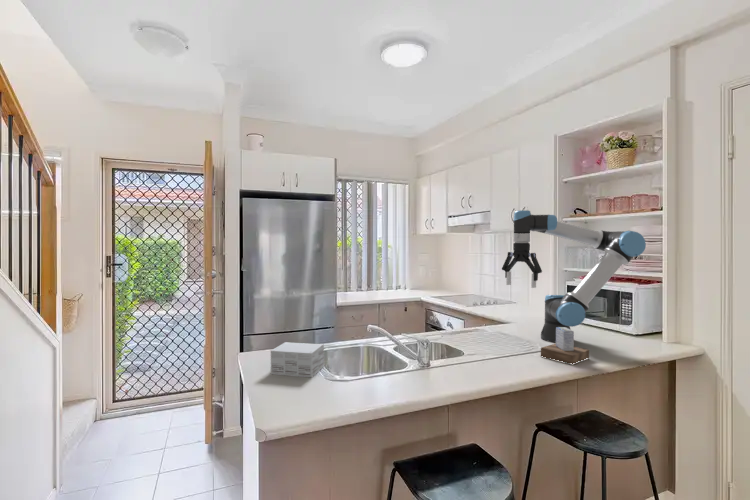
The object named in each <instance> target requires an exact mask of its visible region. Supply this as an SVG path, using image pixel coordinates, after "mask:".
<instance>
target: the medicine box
mask: <svg viewBox="0 0 750 500" xmlns="http://www.w3.org/2000/svg"><path fill="white" fill-rule="evenodd" d="M570 329H571V328H570ZM570 329H568V328H566V327H556V342H555V344H556V346H557V347H558V348H560V349H562V350H563V351H574V347H575V346H574V345H575V344H574V342H575V337H574V335H575V334H574V333H575V331H574V330H572V329H571V330H570Z"/></svg>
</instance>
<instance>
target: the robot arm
mask: <svg viewBox="0 0 750 500" xmlns="http://www.w3.org/2000/svg"><path fill="white" fill-rule="evenodd" d="M531 231H532V232H537V233H542V234H545V235H550V236H553V237H558V238H562V239H565V240H568V241H572V242H576V243H581V244H586V245H589V246H592V248H593V249H596V250H599V251H602V252H604V254H603V256H602V257H601V258H599V260H598V261H597V262H596V264H595V265H593V267H592V268H591V269H590V271H588V273H587V274H586V275H585V276H584V277H583V279H582V280H581V281H580V282H579V283H578V284H577V286H576V287H575V288H574V290H572V291H570V292H566V293H565V294H563V295H562V294H546V295H545V297H544V323H543V326H542V329H541V332H540V339H541V340H544V341H547V342H551V343H556V327H566V328H568V329H570V330H572V329H571V327H577V326H579V325H581V324H582V323H583V322H584V320H585V319H586V313H587V311H588V310H589V309H590V306H589V303H590V302H592V300H593V298H595V296H597V294H598V293H599V292H600V291H601V290H602V289H603V287H604V286H605V285H606V284H607V282H608V281H609V280H610V279H611V278H612V277H613V276H614V275H615V274H616V272H617V271H618V270H619V269H620V268H621V267H622V265H628V264H629V262H631V261H632V259H633V258H634V257H638V256H640V255H642V254H643V253H644V252H645V251H646V248H647V247H646V246H647V244H646V239H645V237H644V236H643V235H642V234H641V233H640V232H638V231H633V230H625V231H624V230H623V231H622V230H621V231H608V230H607V231H606V230H603V229H598V230H594V229H590V228H585V227H580V226H577V225H575V224H570V223H566V222H561V221H558V218H557V216H556V215H555V214H532V213H531V210H521V209H520V210H515V212H514V213H513V242H514V243H513V246H512V248H513V249H512V250H513V252H512V251H508V252H507V256H506V259H505V260H504V263H503V265H502V267H501V270H502V271H503V272H505V273H504V274H505V279H506V281H505V282H506V286H511V285H512V271H511V269H513V267H514V266H515V265H516V264H517V263H519V262H521V263H525V264H526V266H528V268H529V269H530V271H531V272H532V273H531V283H530V284H531V287H530V288H532V289H536V288H537V281H538V278H539V277H538V276H539V274H541V273H542V272H543V269H542V268H541V266H540V263H539V261H538V258H537V254H536V252H530V250H531V244H530V242H531Z"/></svg>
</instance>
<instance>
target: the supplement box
mask: <svg viewBox="0 0 750 500" xmlns="http://www.w3.org/2000/svg"><path fill="white" fill-rule="evenodd" d="M324 346H325V345H324V344H323V343H307V342H306V343H303V342H302V343H301V342H287V341H285V342H283V343H281V344H280V345H278V346H276V347H275V348H273V349H271V350H270V374H271V375H280V376H290V377H301V378H302V377H303V378H313V377H314V376H315V375H316V374H317V373H319V372H320V371H321V370H322V369H323V368H324V367H325V360H324V359H325V356H324V355H325V354H324V352H325V350H324ZM322 367H323V368H322ZM321 368H322V369H321ZM320 369H321V370H320ZM319 370H320V371H319Z"/></svg>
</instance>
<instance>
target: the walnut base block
mask: <svg viewBox="0 0 750 500" xmlns="http://www.w3.org/2000/svg"><path fill="white" fill-rule="evenodd" d="M541 356H543V357H546V358H545V359H547V358H551V359H555V360H559V361H563V362H567V363H572V364H573V363H576V362H578V361H581V360H584V359H586V358H589V359H590V349H587V348H584V347H583V348H582V347H578V346H574V351H563V350H562V349H560V348H558V347H557V346H556V343H553V344H549V345H546V346H543V347H541V348H540V357H541ZM543 357H542V358H543ZM551 359H550V360H551ZM555 360H554V361H555Z"/></svg>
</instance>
